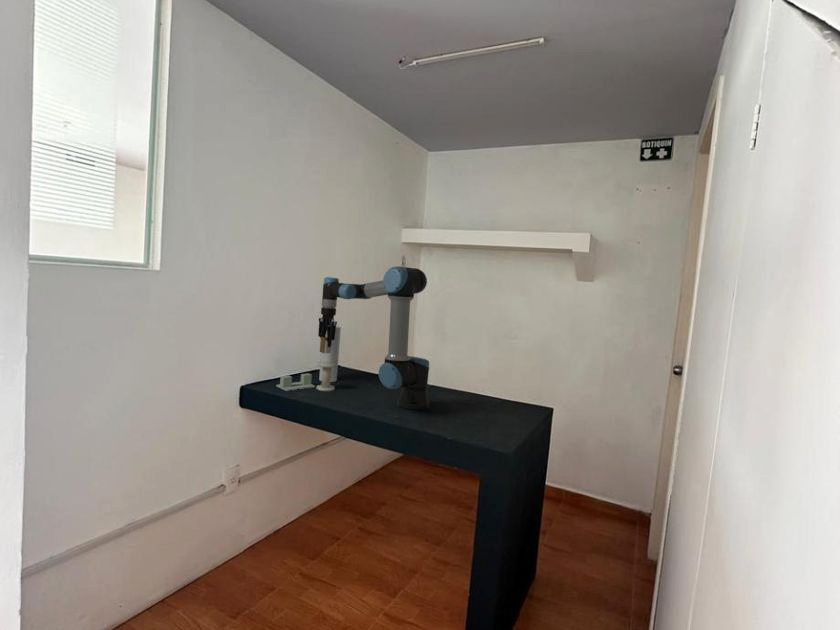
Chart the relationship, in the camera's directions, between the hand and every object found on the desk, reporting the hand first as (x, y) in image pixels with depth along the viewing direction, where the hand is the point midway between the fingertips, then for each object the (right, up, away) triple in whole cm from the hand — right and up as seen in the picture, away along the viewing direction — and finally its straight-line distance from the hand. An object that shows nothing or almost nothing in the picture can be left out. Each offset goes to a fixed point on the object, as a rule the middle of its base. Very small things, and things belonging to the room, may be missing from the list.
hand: (325, 351), depth 232 cm
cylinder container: (-1, -17, +14) cm, 22 cm away
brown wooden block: (0, 0, 0) cm, 0 cm away
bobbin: (+1, -18, -5) cm, 19 cm away
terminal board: (-13, -17, -7) cm, 23 cm away
